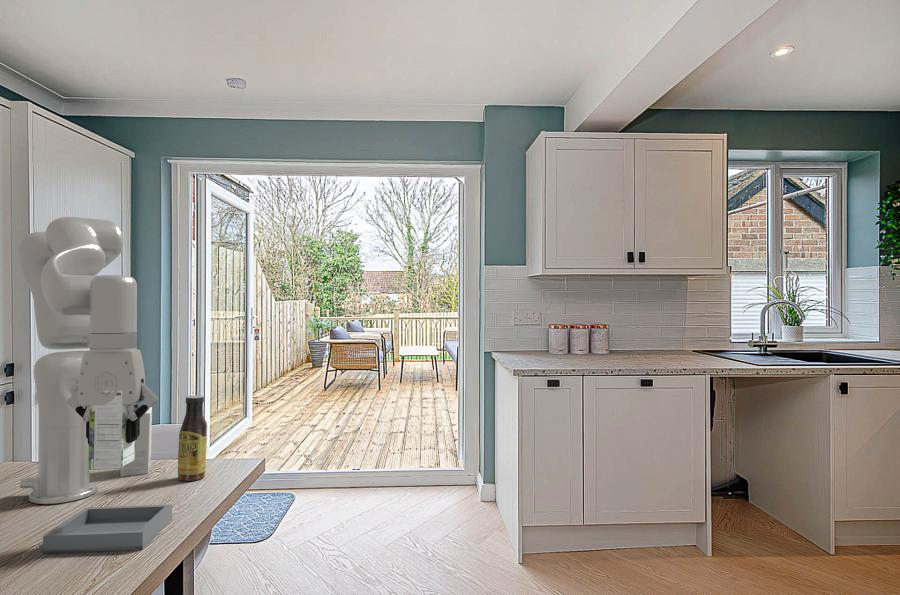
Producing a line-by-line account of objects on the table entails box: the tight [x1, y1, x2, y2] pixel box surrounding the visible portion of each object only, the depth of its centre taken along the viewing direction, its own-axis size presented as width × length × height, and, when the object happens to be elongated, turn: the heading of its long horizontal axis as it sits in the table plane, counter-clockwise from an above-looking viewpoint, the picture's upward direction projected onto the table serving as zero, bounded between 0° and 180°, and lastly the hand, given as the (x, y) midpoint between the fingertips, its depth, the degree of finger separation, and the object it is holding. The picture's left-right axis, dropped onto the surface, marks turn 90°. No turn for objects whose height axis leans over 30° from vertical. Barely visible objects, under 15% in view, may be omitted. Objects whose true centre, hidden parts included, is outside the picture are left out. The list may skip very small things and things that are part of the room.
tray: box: [42, 504, 173, 555], centre depth 107 cm, size 16×14×3 cm
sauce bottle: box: [177, 394, 208, 482], centre depth 142 cm, size 6×6×20 cm
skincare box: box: [120, 406, 153, 477], centre depth 148 cm, size 8×7×16 cm
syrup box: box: [88, 389, 136, 471], centre depth 107 cm, size 6×6×14 cm
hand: (113, 440), depth 107 cm, fingers closed on syrup box, 5 cm apart
